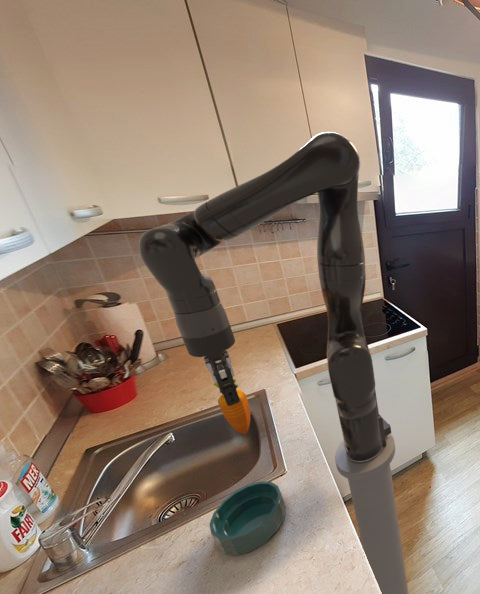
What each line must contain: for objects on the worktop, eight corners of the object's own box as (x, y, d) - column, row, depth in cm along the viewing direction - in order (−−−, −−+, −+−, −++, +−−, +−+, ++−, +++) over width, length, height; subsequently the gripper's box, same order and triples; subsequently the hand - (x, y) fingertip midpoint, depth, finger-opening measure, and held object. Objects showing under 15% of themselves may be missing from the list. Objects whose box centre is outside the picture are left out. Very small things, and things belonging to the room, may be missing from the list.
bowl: (277, 488, 78) (272, 471, 76) (293, 526, 70) (287, 508, 68) (214, 524, 70) (206, 506, 68) (223, 571, 62) (214, 553, 60)
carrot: (226, 439, 73) (204, 384, 67) (245, 423, 77) (226, 371, 72) (244, 444, 72) (223, 388, 66) (263, 427, 76) (244, 374, 71)
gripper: (235, 333, 62) (259, 405, 68) (223, 310, 71) (245, 375, 78) (183, 348, 57) (214, 423, 64) (178, 321, 67) (205, 389, 73)
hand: (231, 396), depth 71 cm, fingers closed on carrot, 4 cm apart
